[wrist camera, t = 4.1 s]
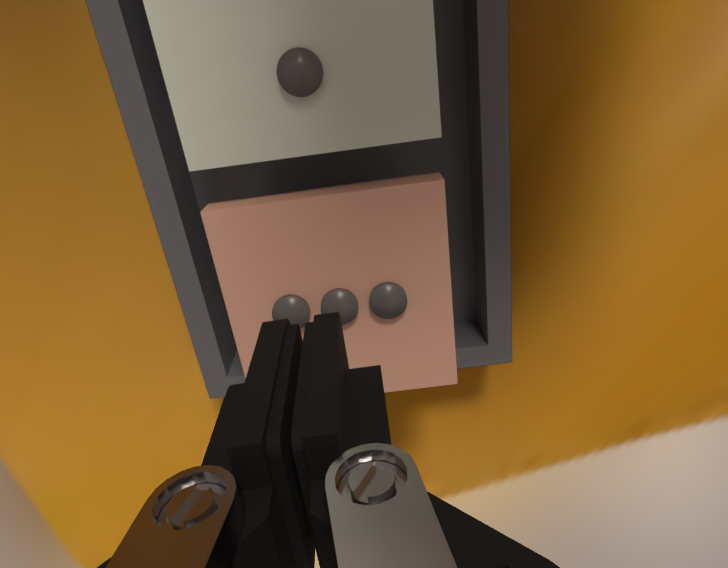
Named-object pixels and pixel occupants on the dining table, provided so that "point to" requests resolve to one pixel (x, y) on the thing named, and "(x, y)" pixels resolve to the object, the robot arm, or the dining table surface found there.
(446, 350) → the tile
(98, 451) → the dining table surface
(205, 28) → the tile
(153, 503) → the robot arm
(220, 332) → the gray rectangular tray
